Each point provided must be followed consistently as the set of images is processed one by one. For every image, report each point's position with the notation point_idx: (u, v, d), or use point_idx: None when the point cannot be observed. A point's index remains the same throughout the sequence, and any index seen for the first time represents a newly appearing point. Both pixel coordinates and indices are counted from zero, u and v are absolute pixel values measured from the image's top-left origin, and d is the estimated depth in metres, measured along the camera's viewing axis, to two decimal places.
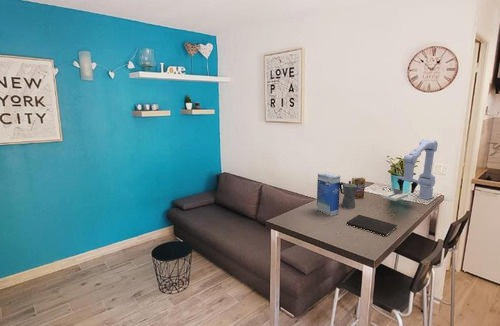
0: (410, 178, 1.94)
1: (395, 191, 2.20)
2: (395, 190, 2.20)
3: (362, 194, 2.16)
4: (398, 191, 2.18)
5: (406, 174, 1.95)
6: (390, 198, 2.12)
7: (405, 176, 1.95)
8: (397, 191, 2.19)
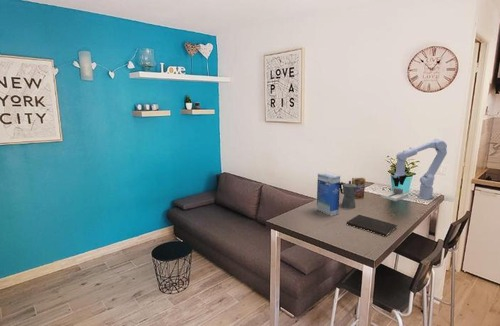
0: (396, 172, 2.17)
1: (395, 191, 2.20)
2: (395, 190, 2.20)
3: (362, 194, 2.16)
4: (398, 191, 2.18)
5: None
6: (390, 198, 2.12)
7: None
8: (397, 191, 2.19)
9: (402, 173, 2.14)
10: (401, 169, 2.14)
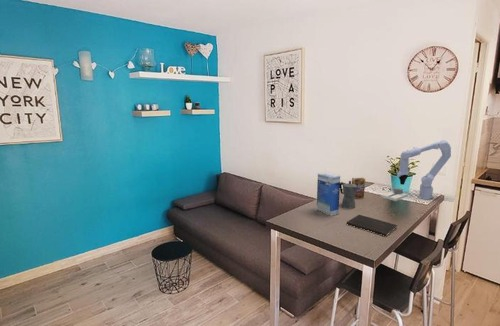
0: (399, 171, 2.20)
1: (395, 191, 2.20)
2: (395, 190, 2.20)
3: (362, 194, 2.16)
4: (398, 191, 2.18)
5: None
6: (390, 198, 2.12)
7: None
8: (397, 191, 2.19)
9: (405, 172, 2.17)
10: (404, 168, 2.17)
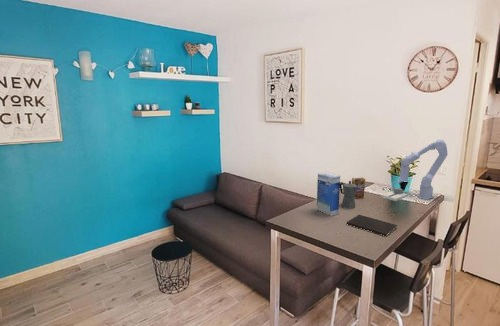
0: (400, 178, 2.22)
1: (395, 191, 2.20)
2: (395, 190, 2.20)
3: (362, 194, 2.16)
4: (398, 191, 2.18)
5: None
6: (390, 198, 2.12)
7: None
8: (397, 191, 2.19)
9: (406, 178, 2.19)
10: (405, 175, 2.19)
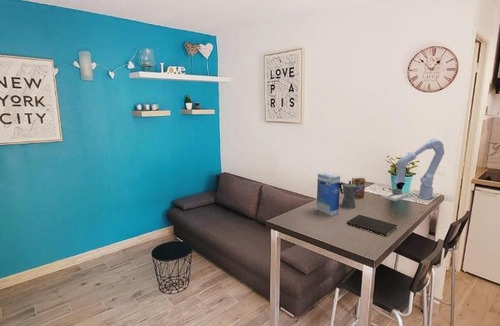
0: (396, 179, 2.19)
1: (394, 191, 2.19)
2: (394, 190, 2.19)
3: (362, 194, 2.16)
4: (397, 191, 2.17)
5: None
6: (390, 198, 2.12)
7: None
8: (396, 191, 2.18)
9: (402, 179, 2.17)
10: (401, 176, 2.16)
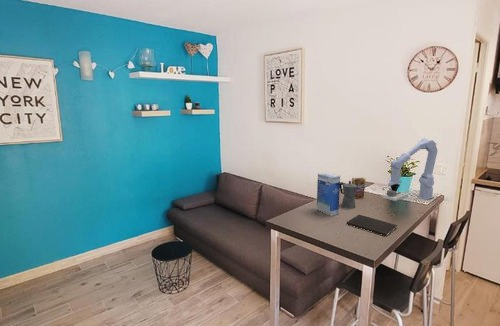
0: (391, 180, 2.15)
1: (388, 193, 2.15)
2: (388, 192, 2.15)
3: (362, 194, 2.16)
4: (391, 193, 2.13)
5: None
6: (390, 198, 2.12)
7: None
8: (390, 193, 2.14)
9: (397, 181, 2.12)
10: (396, 177, 2.12)
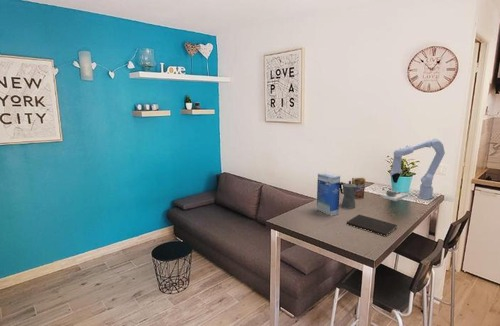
0: (392, 170, 2.21)
1: (388, 193, 2.15)
2: (388, 192, 2.15)
3: (362, 194, 2.16)
4: (391, 193, 2.13)
5: None
6: (390, 198, 2.12)
7: None
8: (390, 193, 2.14)
9: (398, 170, 2.19)
10: (397, 166, 2.18)
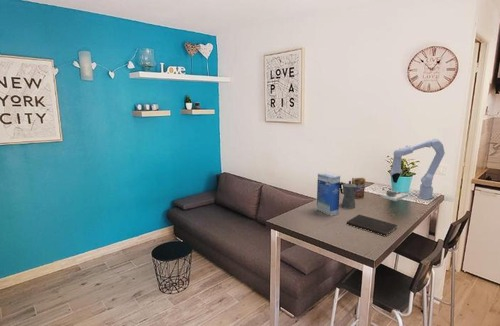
0: (392, 169, 2.21)
1: (388, 193, 2.15)
2: (388, 192, 2.15)
3: (362, 194, 2.16)
4: (391, 193, 2.13)
5: None
6: (390, 198, 2.12)
7: None
8: (390, 193, 2.14)
9: (398, 170, 2.19)
10: (397, 166, 2.18)
